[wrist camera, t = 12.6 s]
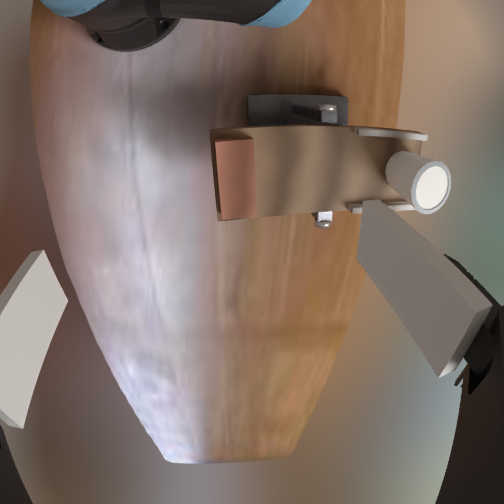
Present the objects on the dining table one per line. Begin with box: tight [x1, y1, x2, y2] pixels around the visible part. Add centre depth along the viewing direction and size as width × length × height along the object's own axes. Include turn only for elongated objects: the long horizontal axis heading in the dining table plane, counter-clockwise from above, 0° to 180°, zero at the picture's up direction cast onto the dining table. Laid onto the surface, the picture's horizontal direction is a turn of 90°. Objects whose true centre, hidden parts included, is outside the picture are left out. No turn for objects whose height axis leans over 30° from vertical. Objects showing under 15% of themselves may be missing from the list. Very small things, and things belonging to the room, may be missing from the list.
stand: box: [247, 94, 348, 228], centre depth 40 cm, size 16×18×13 cm
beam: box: [210, 124, 428, 222], centre depth 34 cm, size 28×11×4 cm, turn 92°
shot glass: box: [385, 151, 451, 214], centre depth 32 cm, size 7×7×7 cm
